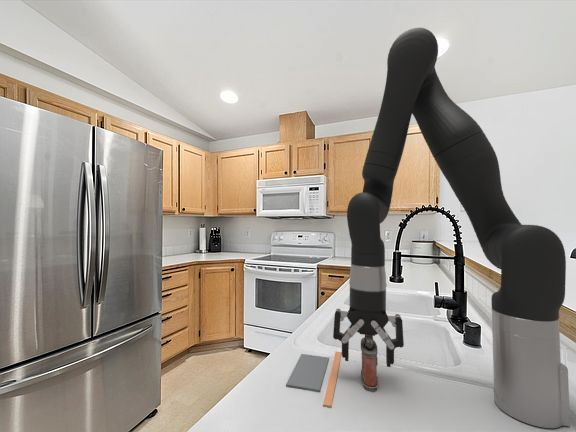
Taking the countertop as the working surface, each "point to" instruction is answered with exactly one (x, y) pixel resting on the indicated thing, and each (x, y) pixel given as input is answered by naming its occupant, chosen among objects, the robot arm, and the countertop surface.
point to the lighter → (369, 364)
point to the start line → (332, 381)
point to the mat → (308, 373)
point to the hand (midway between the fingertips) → (367, 362)
